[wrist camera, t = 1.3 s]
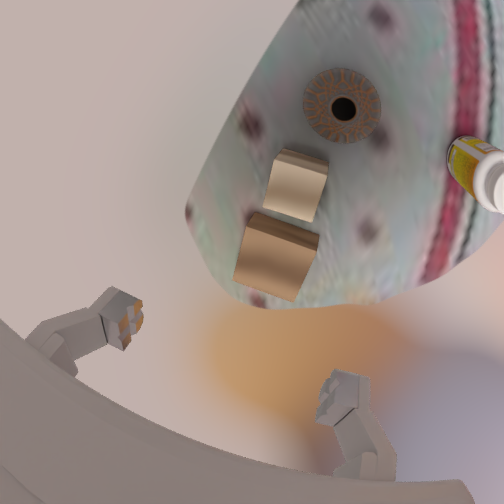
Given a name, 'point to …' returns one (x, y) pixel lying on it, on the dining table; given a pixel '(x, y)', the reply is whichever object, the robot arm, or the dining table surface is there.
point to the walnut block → (275, 256)
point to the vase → (342, 105)
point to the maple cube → (296, 184)
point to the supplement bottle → (478, 170)
